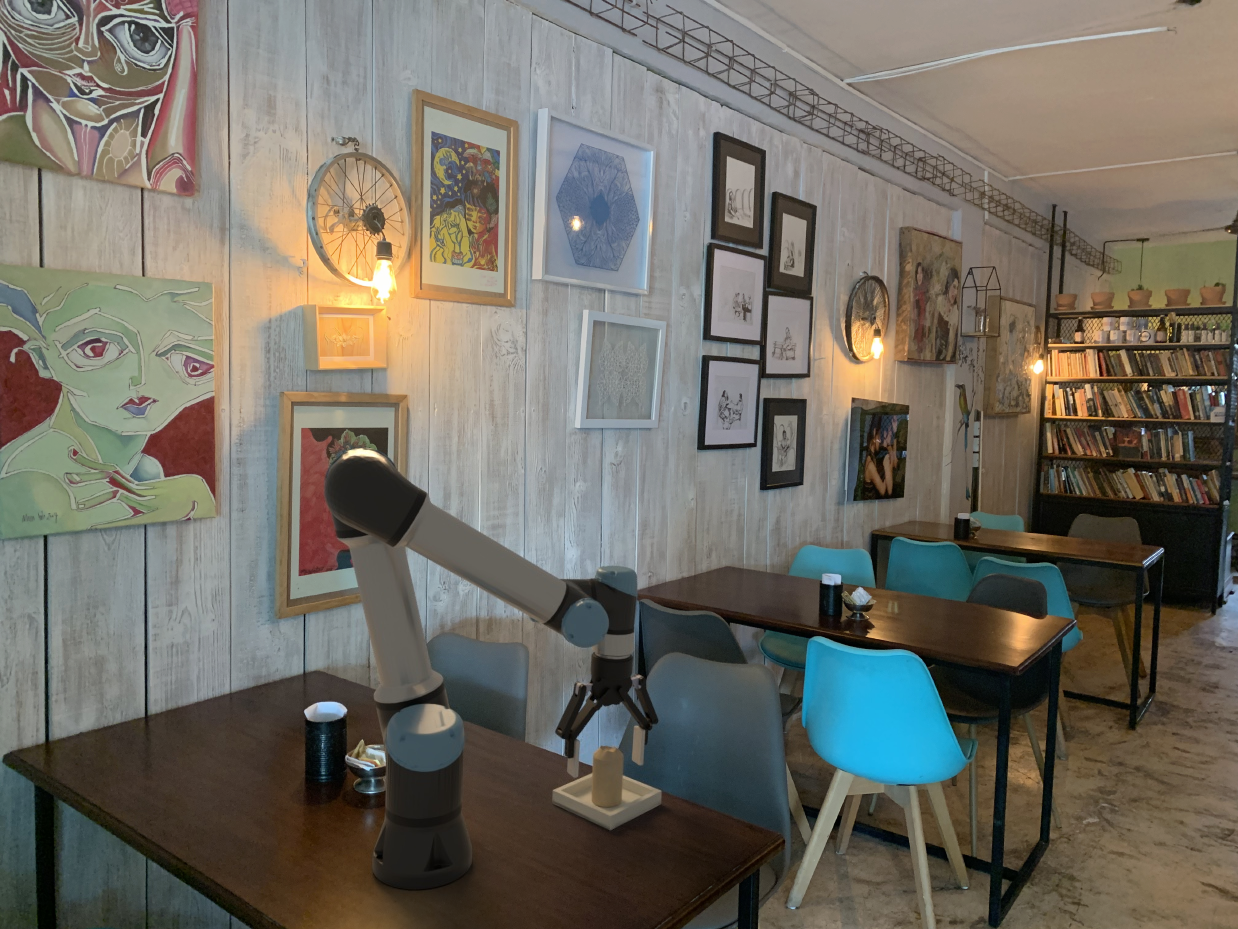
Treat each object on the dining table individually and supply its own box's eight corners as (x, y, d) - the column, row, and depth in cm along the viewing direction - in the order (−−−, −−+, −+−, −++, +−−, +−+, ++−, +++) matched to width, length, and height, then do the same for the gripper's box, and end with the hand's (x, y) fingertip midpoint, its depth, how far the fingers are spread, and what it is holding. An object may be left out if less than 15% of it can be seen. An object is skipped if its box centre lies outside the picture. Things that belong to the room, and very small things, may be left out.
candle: (623, 795, 162) (625, 742, 162) (620, 809, 157) (622, 754, 156) (593, 793, 163) (595, 740, 162) (589, 806, 157) (591, 752, 157)
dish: (661, 804, 161) (661, 790, 160) (610, 830, 150) (610, 816, 150) (604, 780, 170) (604, 767, 170) (552, 803, 159) (552, 790, 159)
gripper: (658, 641, 168) (652, 750, 169) (540, 654, 155) (534, 771, 156) (681, 652, 161) (674, 765, 163) (560, 666, 148) (553, 788, 150)
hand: (605, 768), depth 159 cm, fingers open, 13 cm apart
